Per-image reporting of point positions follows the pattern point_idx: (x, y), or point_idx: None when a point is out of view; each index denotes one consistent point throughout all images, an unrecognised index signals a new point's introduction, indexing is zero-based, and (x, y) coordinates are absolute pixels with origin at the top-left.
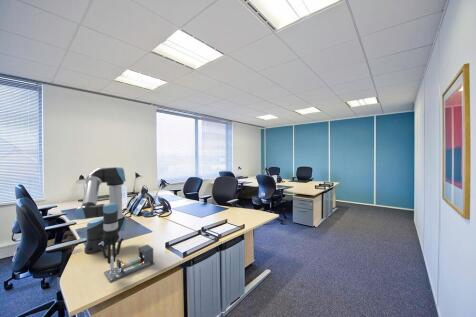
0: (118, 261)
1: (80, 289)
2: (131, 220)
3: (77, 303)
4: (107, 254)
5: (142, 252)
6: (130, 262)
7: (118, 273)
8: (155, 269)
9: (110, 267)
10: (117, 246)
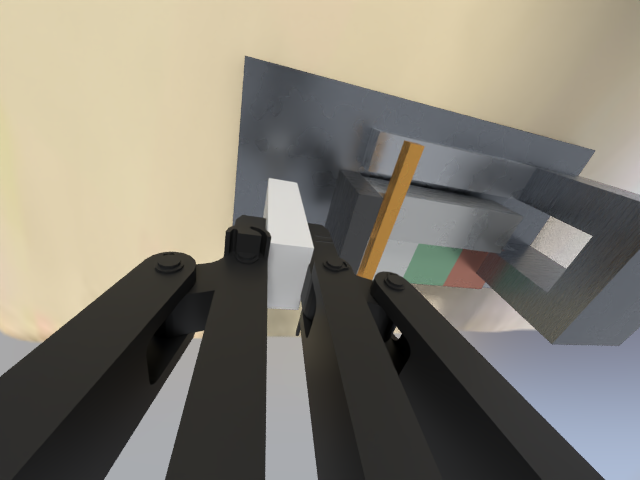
0: (347, 251)
1: (13, 146)
2: None
3: (15, 300)
4: (214, 300)
5: (557, 296)
6: (428, 239)
7: (314, 216)
8: (449, 318)
9: (264, 212)
10: (476, 442)
